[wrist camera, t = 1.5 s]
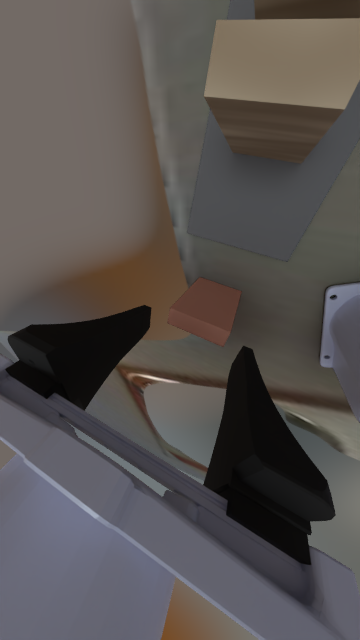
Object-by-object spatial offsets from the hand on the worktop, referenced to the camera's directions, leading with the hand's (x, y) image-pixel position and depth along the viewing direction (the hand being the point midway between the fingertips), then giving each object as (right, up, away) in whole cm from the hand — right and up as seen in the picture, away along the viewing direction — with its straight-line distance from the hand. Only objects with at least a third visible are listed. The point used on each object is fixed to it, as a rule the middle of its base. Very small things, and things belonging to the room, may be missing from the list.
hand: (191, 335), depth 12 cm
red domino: (+4, +5, +7) cm, 9 cm away
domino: (+6, +14, -1) cm, 15 cm away
